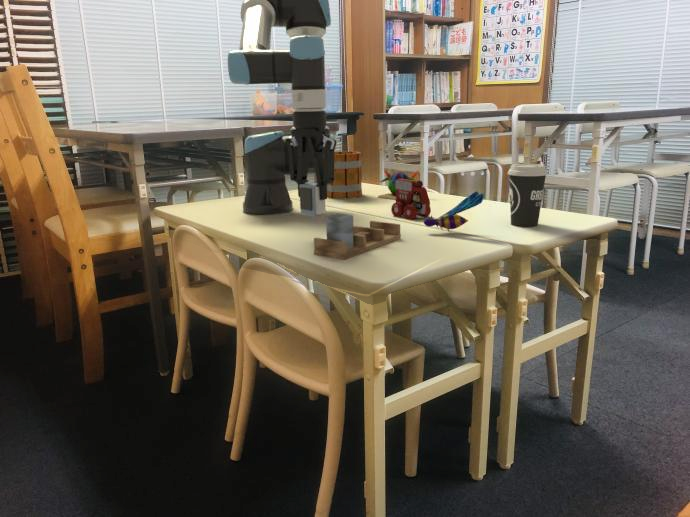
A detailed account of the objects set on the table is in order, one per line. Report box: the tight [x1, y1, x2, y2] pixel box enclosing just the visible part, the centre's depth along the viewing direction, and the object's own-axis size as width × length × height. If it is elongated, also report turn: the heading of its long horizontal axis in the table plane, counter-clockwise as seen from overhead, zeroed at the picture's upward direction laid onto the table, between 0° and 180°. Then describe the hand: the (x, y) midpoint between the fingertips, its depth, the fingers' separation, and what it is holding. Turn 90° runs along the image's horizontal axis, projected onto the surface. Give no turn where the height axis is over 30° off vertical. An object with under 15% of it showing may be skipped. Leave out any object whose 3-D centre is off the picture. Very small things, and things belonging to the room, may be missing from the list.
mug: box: [313, 150, 363, 199], centre depth 191 cm, size 20×14×15 cm
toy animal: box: [377, 169, 420, 201], centre depth 184 cm, size 11×15×10 cm
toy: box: [423, 190, 485, 233], centre depth 130 cm, size 7×14×10 cm, turn 95°
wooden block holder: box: [313, 212, 402, 260], centre depth 121 cm, size 8×22×8 cm, turn 143°
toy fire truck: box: [390, 179, 432, 220], centre depth 152 cm, size 7×12×10 cm, turn 37°
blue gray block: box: [299, 182, 326, 217], centre depth 129 cm, size 4×5×7 cm
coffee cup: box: [507, 163, 549, 228], centre depth 137 cm, size 10×10×15 cm
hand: (313, 211), depth 130 cm, fingers closed on blue gray block, 4 cm apart
